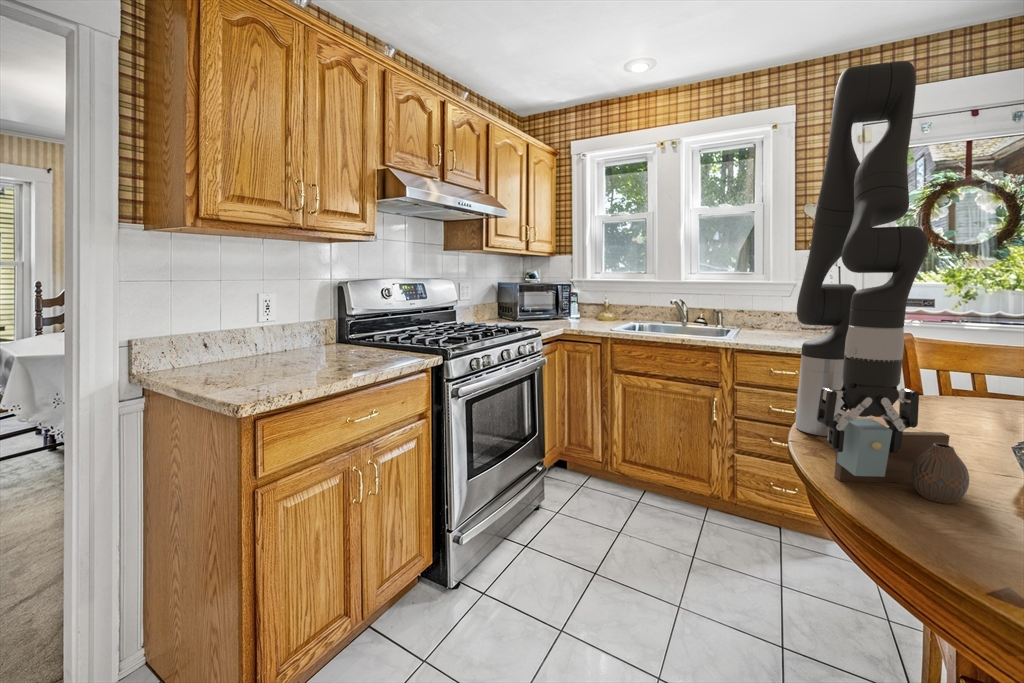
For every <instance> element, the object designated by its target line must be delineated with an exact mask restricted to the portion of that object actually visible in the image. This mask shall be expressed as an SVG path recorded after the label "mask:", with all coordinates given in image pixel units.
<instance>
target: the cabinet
mask: <svg viewBox="0 0 1024 683" xmlns="http://www.w3.org/2000/svg"><path fill="white" fill-rule="evenodd" d="M888 427H889V426H886V425H884V424H882V423H881V422H878V421H877V420H875V419H874V418H868V417H861V418H860V417H858V418H856V419H855V420H854V421H850V422H849V423H848V424H847V425H846V426H845V428H844V429H843V431H845V433H844V444H843V451H842V452H838V456H837V462H838V463H839V464H840V465H841V466H843V467H844V468H845V469H847V470H848V471H849V472H850V473H852V474H853V475H854V476H881V477H885V471H886V466H887V460H888V454H889V448H890V442H891V436H892V430H891V429H889V428H888ZM828 437H829V432H828V436H827V441H828Z"/></svg>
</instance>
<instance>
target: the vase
mask: <svg viewBox="0 0 1024 683" xmlns="http://www.w3.org/2000/svg"><path fill="white" fill-rule="evenodd" d="M911 479H912V483H911V484H912V486H913V488H915V491H916V492H917V493H918V494H919V495H920V496H921V497H922V498H924V499H927V500H928V501H931V502H935V503H940V504H954V503H956V502H958V501H959V500H961V499H963V497H964V496H966V494H967V491H968V489H969V486H970V474H969V471H968V468H967V466H966V464H965V463H964V461H963V460H962V459H961V458H960V456H959V455H958V454H957V452H956V450H955V448H954V446H952V445H950V444H949V445H947V444H943V443H934V444H933V445H932V446H931V447H930V448H929V449H928V450H927V451H925V452H924V453H922V454H921V455H920V456H918V457H917V459H916V460H915V462H914V464H913V466H912V470H911Z"/></svg>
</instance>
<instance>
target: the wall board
mask: <svg viewBox="0 0 1024 683" xmlns="http://www.w3.org/2000/svg"><path fill="white" fill-rule="evenodd" d="M901 441H902V443H901V448H900V449H898V452H897V453H891V452H889V454H888V460H887V466H886V471H885V477H881V476H854V475H853V474H852V473H850V472H849V471H848V470H847V469H845V468H844V467H843V466H841V465H840V464H839V463H838V462H837V456H838V452H836V451H835V465H834V475H833V477H834V479H836V480H838V481H839V482H857V483H858V482H859V483H860V482H863V483H865V482H866V483H867V482H869V483H904V484H905V483H908V484H910V483H911V484H913V483H912V479H911V470H912V466H913V464H914V462H915V460H916V459H917V457H918V456H920V455H921V454H922V453H924V452H925V451H927V450H928V449H929V448H930V447H931V446H932V445H933V444H934V443H943V444H947V445H950V444H949V443H950V435H949V434H947V433H944V432H943V431H941V432H939V431H938V432H935V431H930V432H929V431H924V432H923V431H903V434H902V440H901Z"/></svg>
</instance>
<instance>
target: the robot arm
mask: <svg viewBox="0 0 1024 683" xmlns="http://www.w3.org/2000/svg"><path fill="white" fill-rule="evenodd" d="M916 87H917V75H916V70H915V66H914V65H913V63H911V62H910V61H908V60H896V61H887V62H880V63H873V64H872V63H871V64H863V65H862V64H861V65H856V66H851V67H848V68H846V69H844V70H843V71H842V73H841V74H840V76H839V79H838V81H837V84H836V87H835V92H834V97H833V105H832V110H831V122H830V128H829V129H830V131H829V138H828V145H827V155H826V160H825V167H824V171H823V176H822V180H821V185H820V188H819V194H818V198H817V203H816V208H815V209H816V210H815V213H814V221H813V227H812V235H811V241H810V242H811V243H810V247H809V248H810V249H809V255H808V259H807V262H806V266H805V270H804V274H803V278H802V283H801V286H800V290H799V293H798V298H797V303H796V317H797V320H798V322H799V323H800V324H802V325H806V326H817V327H818V326H819V327H820V326H821V327H822V326H823V327H832V329H831V330H830V331H829V332H828V333H826V334H824V335H821V336H819V337H817V338H813V339H809V340H806V341H804V342H803V343H802V345H801V353H800V354H801V355H800V356H801V357H800V369H799V380H798V386H797V395H796V396H797V397H796V407H795V408H796V409H795V421H794V422H795V423H796V424H795V423H794V424H795V428H796V429H797V430H799V431H801V432H804V433H807V434H810V435H815V436H821V437H822V436H823V437H827V439H828V440H827V444H828V446H829V447H831V448H830V449H831V450H833V451H834V452H835V453H836V452H842V451H843V444H844V433H845V431H843V429H844V428H845V426H846V425H847V424H848V423H849V422H850V421H854V420H855V419H856V418H857V417H858V418H860V417H861V418H868V417H871V416H872V417H875V418H882V419H883V421H884V422H885V423H886V425H887V427H888V428H889V429H891V430H892V436H891V442H890V448H889V452H891V453H897V452H898V449H900V448H901V443H902V441H901V440H902V434H903V432H905V430H906V429H909V428H912V429H913V428H917V426H918V424H919V423H918V422H919V404H920V393H919V392H918V391H915V390H912V389H909V388H905V387H903V388H901V389H900V390H898V386H899V385H900V384H901V376H902V366H903V357H904V350H905V349H904V348H905V332H904V331H905V328H904V327H905V323H906V322H905V320H906V310H907V303H908V299H909V295H910V292H911V289H912V287H913V284H914V281H915V280H916V278H917V275H918V273H919V271H920V269H921V267H922V264H923V263H924V261H925V259H926V256H927V253H928V251H929V240H928V236H927V234H926V232H925V231H924V230H923V229H921V228H920V227H918V226H914V225H912V226H911V225H909V226H908V225H907V226H906V225H905V226H904V225H903V226H900V225H899V226H887V227H886V226H882V225H886V224H890V223H893V222H896V221H897V220H899V219H902V217H904V216H905V215H906V214H907V212H908V210H909V208H910V192H909V177H908V157H909V156H908V155H909V146H910V141H911V140H910V139H911V133H912V126H913V116H914V109H915V108H914V107H915V101H916V100H915V98H916V91H917V90H916V89H917V88H916ZM880 121H881V122H883V121H887V125H886V128H885V130H884V131H883V134H882V135H881V137H880V138H879V140H878V141H877V142H876V143H875V144H874V146H873V147H872V148H871V149H870V150H869V152H868V153H867V154H866V155H865V157H864V158H862V161H861V162H860V160H859V158H858V156H857V153H856V151H855V148H854V144H853V139H852V138H853V137H852V136H853V135H852V134H853V133H852V129H853V125H854V124H856V123H870V122H880ZM877 226H879V227H877ZM840 258H841V261H842V264H843V265H844V267H845V268H846V269H847V271H850V272H851V273H858V274H872V273H873V274H874V273H875V274H877V273H878V274H881V273H882V274H883V273H884V274H887V273H888V274H890V273H892V275H891V277H890V278H889V280H887V281H886V283H884V284H882V285H878V286H874V287H873V286H872V287H866V288H865V287H864V288H861V289H857V288H856V287H855V286H854V285H853V284H848V283H824V281H825V278H826V277H827V275H828V273H829V271H830V270H831V268H832V267H833V266H834V265H835V264H836V262H838V260H839V259H840ZM897 401H898V402H899V406H898V407H899V408H898V410H899V411H897V410H896V409H895V408H894V406H893V405H895V403H896V402H897ZM828 432H829V437H828Z"/></svg>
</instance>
